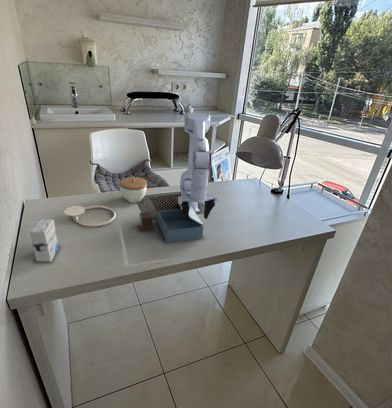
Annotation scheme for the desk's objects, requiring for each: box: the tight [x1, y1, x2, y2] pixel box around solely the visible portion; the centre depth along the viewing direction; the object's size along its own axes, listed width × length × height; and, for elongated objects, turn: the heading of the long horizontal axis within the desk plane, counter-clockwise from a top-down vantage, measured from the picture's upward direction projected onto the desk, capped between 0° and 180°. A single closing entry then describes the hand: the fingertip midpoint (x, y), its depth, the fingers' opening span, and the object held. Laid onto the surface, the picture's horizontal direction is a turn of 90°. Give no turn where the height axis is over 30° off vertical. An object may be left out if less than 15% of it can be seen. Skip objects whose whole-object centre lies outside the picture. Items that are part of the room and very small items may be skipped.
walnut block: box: [139, 211, 154, 232], centre depth 119 cm, size 4×4×6 cm
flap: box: [188, 206, 204, 226], centre depth 119 cm, size 16×7×1 cm
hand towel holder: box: [63, 204, 117, 228], centre depth 123 cm, size 17×4×21 cm
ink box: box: [29, 218, 59, 263], centre depth 98 cm, size 8×5×12 cm, turn 5°
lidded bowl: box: [119, 176, 148, 204], centre depth 139 cm, size 13×13×11 cm
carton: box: [157, 208, 204, 243], centre depth 120 cm, size 16×15×5 cm
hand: (195, 218), depth 110 cm, fingers open, 7 cm apart
